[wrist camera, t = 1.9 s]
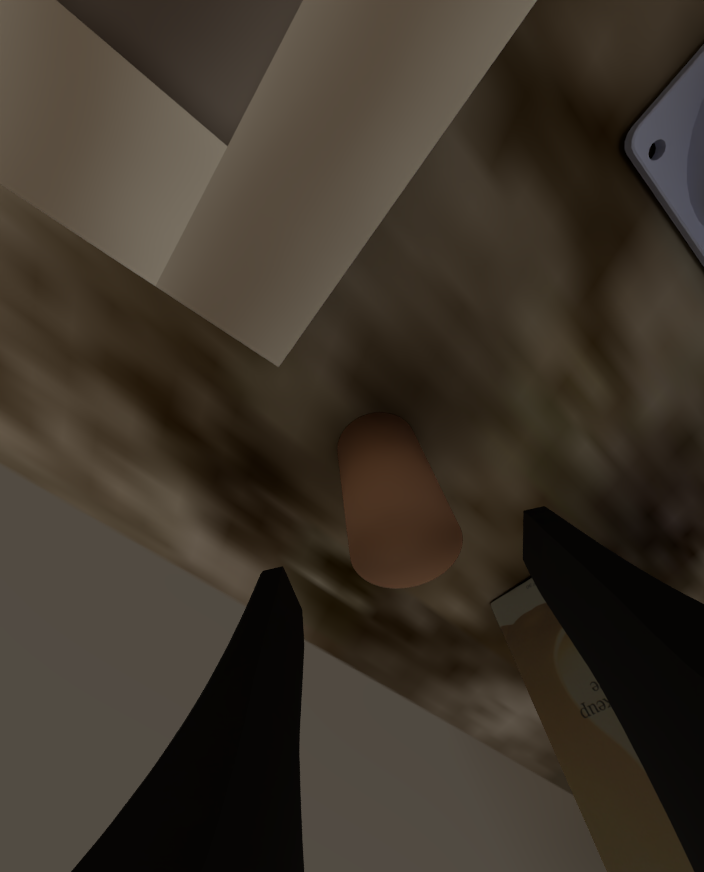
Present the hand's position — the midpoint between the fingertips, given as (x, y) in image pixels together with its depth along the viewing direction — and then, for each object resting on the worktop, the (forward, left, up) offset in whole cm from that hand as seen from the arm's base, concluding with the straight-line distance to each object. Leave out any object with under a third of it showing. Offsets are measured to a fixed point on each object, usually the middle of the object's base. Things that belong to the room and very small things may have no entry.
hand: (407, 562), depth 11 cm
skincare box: (-15, +2, -7) cm, 16 cm away
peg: (0, 0, -7) cm, 6 cm away
